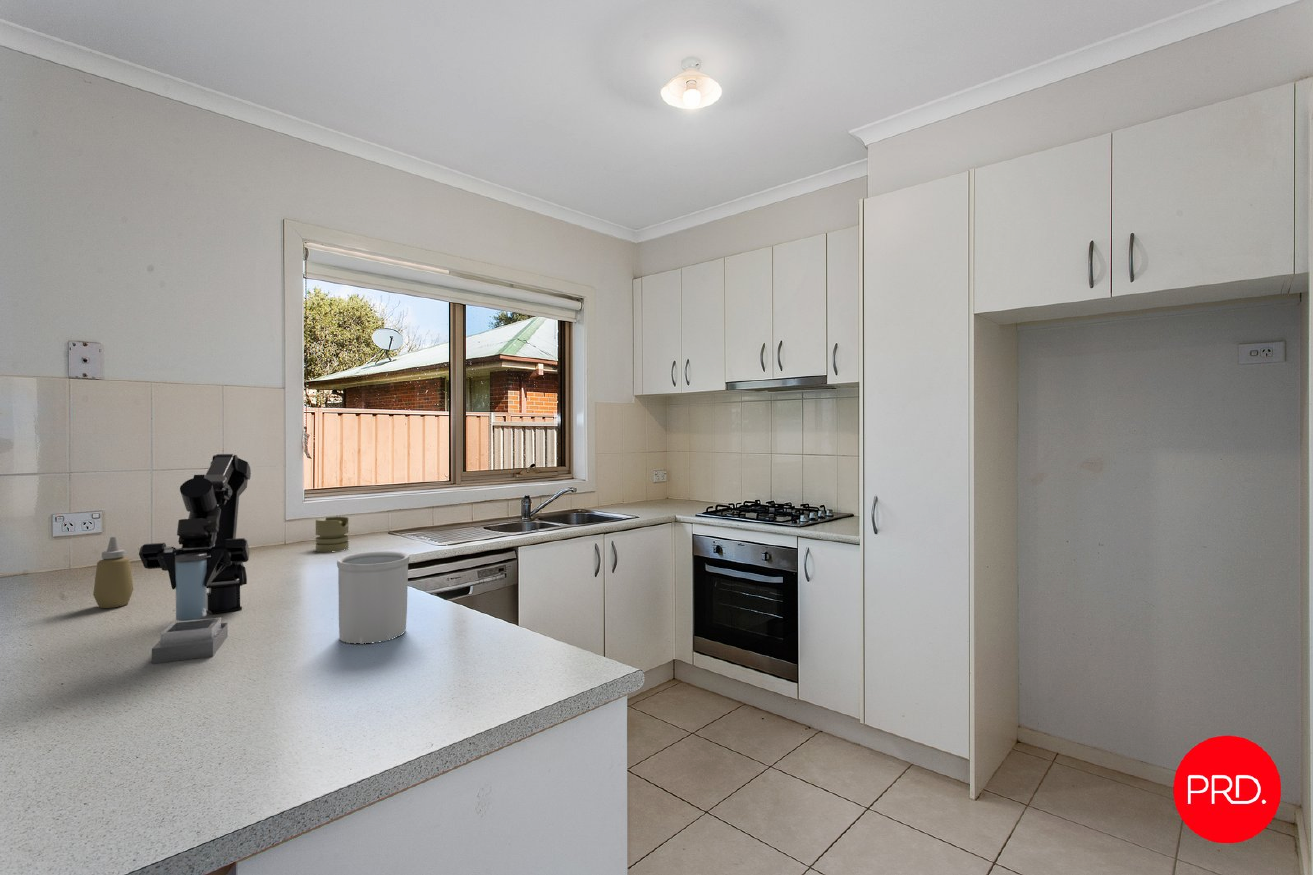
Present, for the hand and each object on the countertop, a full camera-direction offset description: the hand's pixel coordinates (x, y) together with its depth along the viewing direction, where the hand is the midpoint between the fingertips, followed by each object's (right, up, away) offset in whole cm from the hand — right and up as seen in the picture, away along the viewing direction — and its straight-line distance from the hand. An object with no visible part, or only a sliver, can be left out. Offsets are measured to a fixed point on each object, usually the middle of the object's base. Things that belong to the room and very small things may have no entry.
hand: (189, 587), depth 131 cm
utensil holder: (+33, -13, +11) cm, 38 cm away
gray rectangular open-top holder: (0, -13, +1) cm, 13 cm away
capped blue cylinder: (-1, -7, +1) cm, 7 cm away
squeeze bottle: (-45, -13, +34) cm, 59 cm away
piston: (-29, -13, +113) cm, 118 cm away
